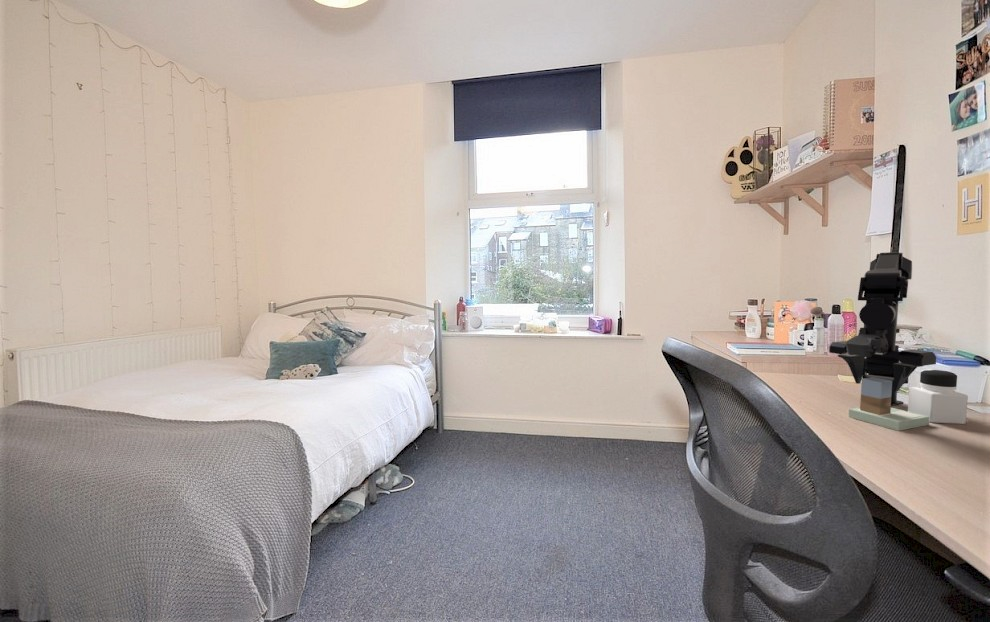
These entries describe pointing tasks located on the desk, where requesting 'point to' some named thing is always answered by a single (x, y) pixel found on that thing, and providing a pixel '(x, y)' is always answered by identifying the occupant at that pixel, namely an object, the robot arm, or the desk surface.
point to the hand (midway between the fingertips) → (876, 387)
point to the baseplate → (891, 418)
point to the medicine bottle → (938, 398)
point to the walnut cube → (875, 405)
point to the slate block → (876, 387)
